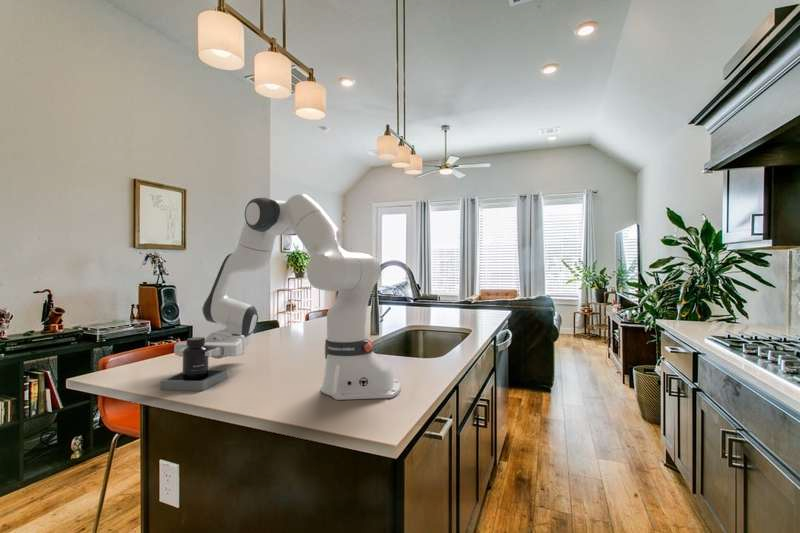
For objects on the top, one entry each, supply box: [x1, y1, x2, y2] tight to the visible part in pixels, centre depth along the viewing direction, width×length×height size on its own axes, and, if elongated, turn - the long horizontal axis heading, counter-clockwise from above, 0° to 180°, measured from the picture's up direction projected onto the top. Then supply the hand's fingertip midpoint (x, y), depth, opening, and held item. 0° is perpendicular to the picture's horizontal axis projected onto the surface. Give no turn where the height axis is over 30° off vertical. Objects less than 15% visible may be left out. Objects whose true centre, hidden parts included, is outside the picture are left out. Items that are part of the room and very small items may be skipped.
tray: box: [160, 368, 228, 392], centre depth 113 cm, size 13×13×2 cm
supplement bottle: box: [182, 336, 209, 381], centre depth 113 cm, size 7×7×12 cm
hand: (193, 354), depth 112 cm, fingers closed on supplement bottle, 7 cm apart
